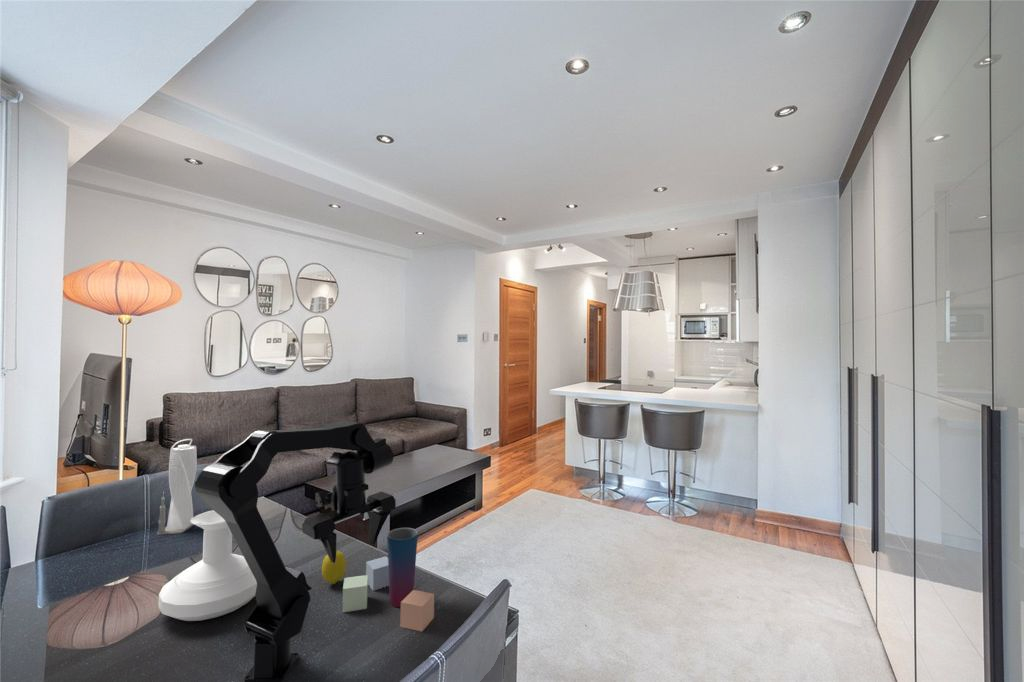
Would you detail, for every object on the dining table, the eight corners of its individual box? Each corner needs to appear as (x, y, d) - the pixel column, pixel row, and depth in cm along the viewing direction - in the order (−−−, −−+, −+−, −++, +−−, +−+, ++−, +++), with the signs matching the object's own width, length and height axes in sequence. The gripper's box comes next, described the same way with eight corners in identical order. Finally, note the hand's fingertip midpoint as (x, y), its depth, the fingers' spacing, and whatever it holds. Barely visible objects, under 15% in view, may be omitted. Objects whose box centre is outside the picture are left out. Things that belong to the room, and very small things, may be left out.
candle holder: (135, 639, 84) (140, 538, 85) (183, 587, 103) (187, 505, 104) (251, 623, 89) (255, 528, 90) (276, 576, 108) (279, 498, 109)
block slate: (393, 584, 105) (393, 563, 105) (373, 591, 102) (373, 569, 102) (385, 576, 109) (386, 556, 109) (365, 582, 106) (366, 561, 106)
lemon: (337, 591, 102) (338, 556, 102) (316, 588, 103) (317, 554, 103) (350, 579, 107) (351, 546, 108) (330, 577, 108) (331, 544, 109)
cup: (383, 596, 99) (384, 530, 100) (413, 590, 102) (414, 525, 103) (388, 612, 93) (389, 541, 94) (419, 605, 96) (420, 536, 97)
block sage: (366, 609, 95) (367, 585, 95) (342, 612, 93) (342, 589, 93) (367, 597, 99) (367, 574, 100) (344, 600, 98) (344, 577, 98)
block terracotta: (422, 632, 87) (422, 606, 87) (400, 627, 88) (400, 602, 89) (433, 617, 92) (434, 593, 92) (413, 613, 93) (413, 589, 93)
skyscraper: (172, 524, 142) (176, 438, 143) (200, 523, 143) (203, 437, 145) (156, 534, 134) (160, 443, 135) (185, 533, 135) (189, 442, 136)
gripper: (368, 462, 105) (371, 526, 105) (288, 485, 90) (292, 559, 91) (396, 471, 97) (398, 539, 98) (314, 497, 83) (317, 577, 83)
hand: (353, 552), depth 93 cm, fingers open, 9 cm apart
